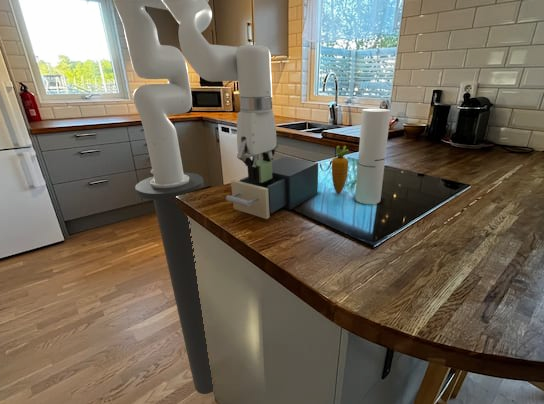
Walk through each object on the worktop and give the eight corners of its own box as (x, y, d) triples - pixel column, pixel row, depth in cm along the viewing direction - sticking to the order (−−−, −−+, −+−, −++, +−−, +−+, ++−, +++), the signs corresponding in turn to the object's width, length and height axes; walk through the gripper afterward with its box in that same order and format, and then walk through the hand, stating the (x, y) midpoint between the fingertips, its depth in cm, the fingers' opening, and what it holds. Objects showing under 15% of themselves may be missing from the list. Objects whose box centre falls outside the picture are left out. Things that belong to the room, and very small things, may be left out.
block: (248, 179, 76) (247, 163, 75) (259, 175, 80) (258, 159, 78) (261, 183, 74) (260, 166, 72) (272, 178, 77) (272, 161, 76)
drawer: (255, 226, 70) (253, 195, 67) (221, 214, 76) (218, 185, 73) (297, 201, 83) (297, 174, 80) (266, 193, 89) (264, 168, 86)
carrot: (342, 190, 93) (344, 142, 87) (349, 196, 89) (352, 146, 83) (327, 192, 92) (329, 144, 86) (334, 198, 87) (336, 147, 81)
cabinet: (290, 210, 80) (289, 176, 76) (255, 200, 87) (252, 168, 83) (317, 193, 91) (318, 162, 87) (284, 185, 98) (283, 157, 94)
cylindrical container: (385, 202, 84) (396, 110, 74) (361, 205, 82) (370, 112, 72) (373, 193, 90) (381, 108, 80) (351, 196, 89) (357, 109, 79)
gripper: (266, 101, 78) (269, 168, 85) (217, 107, 65) (226, 185, 73) (290, 102, 74) (291, 172, 81) (242, 109, 61) (249, 191, 69)
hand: (260, 177), depth 77 cm, fingers closed on block, 4 cm apart
